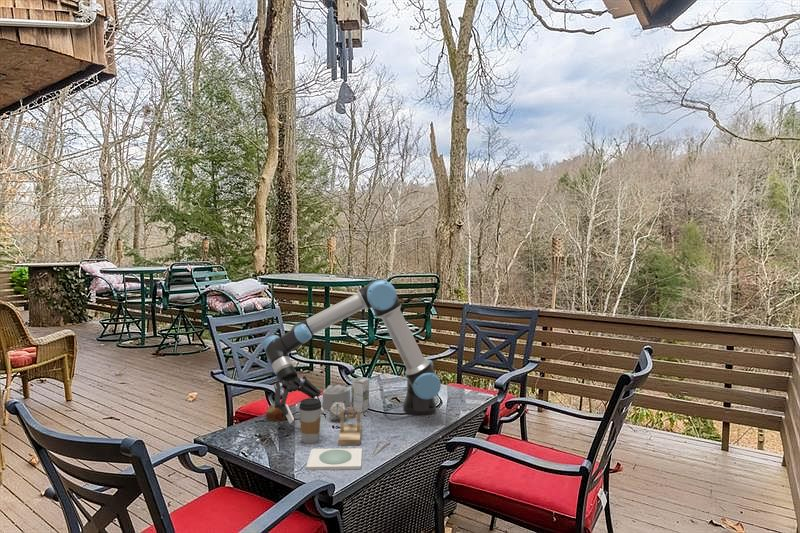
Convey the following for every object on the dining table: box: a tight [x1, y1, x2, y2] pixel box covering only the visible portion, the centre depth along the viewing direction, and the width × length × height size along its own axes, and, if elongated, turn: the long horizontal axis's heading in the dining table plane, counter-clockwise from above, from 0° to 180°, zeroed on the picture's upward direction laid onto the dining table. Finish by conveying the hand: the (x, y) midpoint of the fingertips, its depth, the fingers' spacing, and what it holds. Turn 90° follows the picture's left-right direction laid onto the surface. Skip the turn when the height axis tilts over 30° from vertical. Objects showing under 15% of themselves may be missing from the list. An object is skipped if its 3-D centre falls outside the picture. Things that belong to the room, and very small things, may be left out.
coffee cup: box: [298, 397, 322, 444], centre depth 175 cm, size 8×8×15 cm
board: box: [305, 447, 363, 471], centre depth 159 cm, size 18×14×1 cm
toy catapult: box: [337, 406, 362, 446], centre depth 180 cm, size 19×8×10 cm, turn 3°
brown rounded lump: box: [265, 403, 288, 422], centre depth 200 cm, size 10×10×8 cm
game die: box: [326, 401, 348, 422], centre depth 197 cm, size 9×8×10 cm
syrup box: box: [351, 376, 370, 414], centre depth 209 cm, size 6×6×14 cm
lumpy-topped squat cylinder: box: [322, 384, 351, 410], centre depth 216 cm, size 10×13×9 cm
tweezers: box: [370, 440, 390, 459], centre depth 166 cm, size 17×5×2 cm, turn 163°
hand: (307, 417), depth 176 cm, fingers open, 13 cm apart
